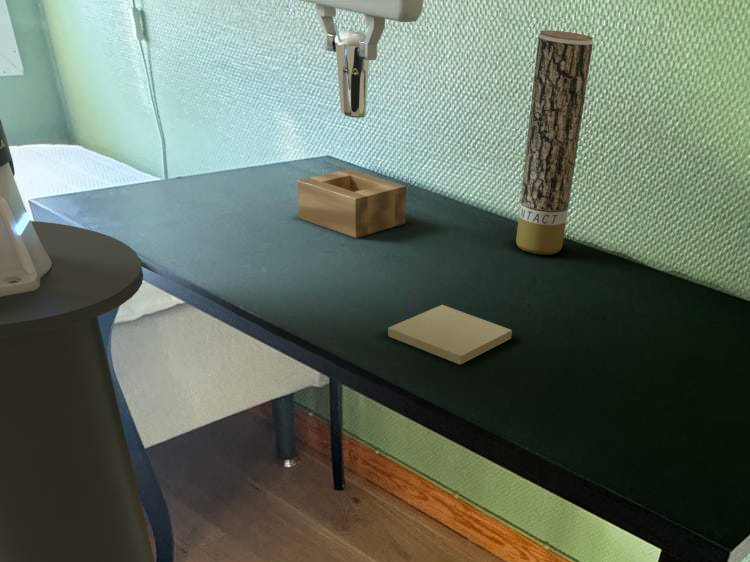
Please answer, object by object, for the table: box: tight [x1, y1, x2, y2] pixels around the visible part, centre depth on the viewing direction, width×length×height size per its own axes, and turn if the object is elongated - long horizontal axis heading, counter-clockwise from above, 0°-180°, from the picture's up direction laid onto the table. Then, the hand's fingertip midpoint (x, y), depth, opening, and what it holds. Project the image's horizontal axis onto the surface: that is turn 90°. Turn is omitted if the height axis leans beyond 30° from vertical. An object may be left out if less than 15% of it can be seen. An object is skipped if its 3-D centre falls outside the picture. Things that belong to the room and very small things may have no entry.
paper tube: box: [515, 29, 594, 256], centre depth 108 cm, size 7×7×25 cm
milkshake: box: [334, 22, 370, 119], centre depth 104 cm, size 4×5×10 cm
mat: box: [387, 304, 513, 366], centre depth 90 cm, size 10×10×1 cm
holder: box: [296, 168, 407, 239], centre depth 116 cm, size 11×11×5 cm
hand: (350, 55), depth 103 cm, fingers closed on milkshake, 4 cm apart
